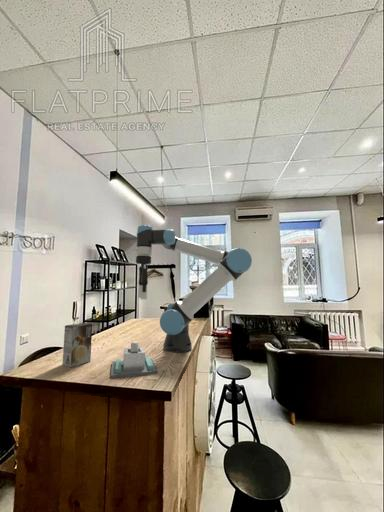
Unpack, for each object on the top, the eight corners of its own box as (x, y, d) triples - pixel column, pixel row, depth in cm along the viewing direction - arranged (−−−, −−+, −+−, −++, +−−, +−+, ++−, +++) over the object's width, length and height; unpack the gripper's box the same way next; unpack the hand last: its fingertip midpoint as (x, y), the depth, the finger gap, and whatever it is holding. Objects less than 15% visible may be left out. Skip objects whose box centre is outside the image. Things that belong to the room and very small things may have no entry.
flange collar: (123, 363, 95) (123, 348, 96) (142, 361, 98) (143, 346, 99) (123, 370, 88) (124, 353, 89) (144, 368, 90) (145, 351, 91)
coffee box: (82, 359, 104) (84, 322, 106) (90, 361, 100) (93, 323, 102) (61, 364, 96) (64, 325, 98) (70, 367, 93) (73, 326, 95)
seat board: (152, 360, 103) (153, 337, 104) (158, 373, 88) (158, 346, 89) (112, 363, 98) (113, 339, 99) (110, 378, 83) (112, 349, 84)
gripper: (134, 258, 128) (132, 297, 125) (138, 252, 104) (136, 300, 101) (148, 258, 130) (146, 297, 127) (154, 253, 106) (153, 299, 104)
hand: (142, 298), depth 114 cm, fingers open, 13 cm apart
